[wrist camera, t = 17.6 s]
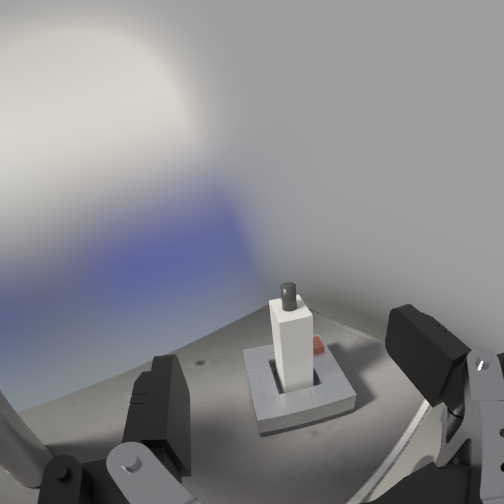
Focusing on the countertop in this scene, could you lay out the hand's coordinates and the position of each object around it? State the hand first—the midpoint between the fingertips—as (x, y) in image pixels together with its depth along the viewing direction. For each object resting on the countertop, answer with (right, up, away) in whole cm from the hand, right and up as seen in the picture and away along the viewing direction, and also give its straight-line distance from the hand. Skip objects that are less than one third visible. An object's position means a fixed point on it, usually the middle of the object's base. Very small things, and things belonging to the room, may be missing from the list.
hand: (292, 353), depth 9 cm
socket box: (+5, -17, +29) cm, 35 cm away
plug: (+5, -16, +29) cm, 34 cm away
